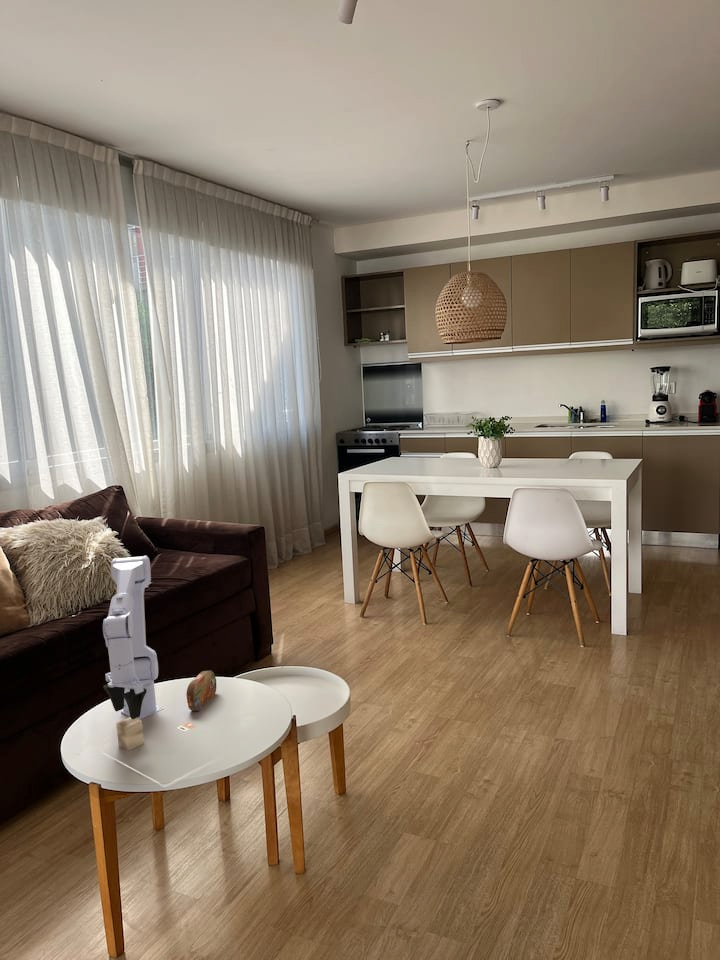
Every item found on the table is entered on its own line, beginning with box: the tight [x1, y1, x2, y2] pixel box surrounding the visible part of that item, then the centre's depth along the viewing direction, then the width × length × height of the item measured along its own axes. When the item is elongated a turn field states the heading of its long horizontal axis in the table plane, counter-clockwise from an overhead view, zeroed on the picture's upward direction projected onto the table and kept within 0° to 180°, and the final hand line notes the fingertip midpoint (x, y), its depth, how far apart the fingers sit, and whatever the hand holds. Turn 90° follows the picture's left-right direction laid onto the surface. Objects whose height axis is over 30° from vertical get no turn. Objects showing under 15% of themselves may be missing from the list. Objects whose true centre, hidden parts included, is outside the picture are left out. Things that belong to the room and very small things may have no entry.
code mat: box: [176, 722, 196, 732], centre depth 188 cm, size 12×12×1 cm
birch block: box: [115, 716, 145, 751], centre depth 180 cm, size 4×4×6 cm
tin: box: [185, 670, 217, 712], centre depth 202 cm, size 15×3×8 cm, turn 168°
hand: (127, 713), depth 179 cm, fingers open, 7 cm apart
